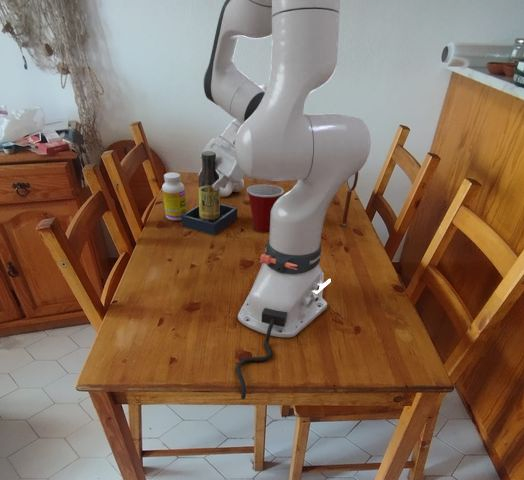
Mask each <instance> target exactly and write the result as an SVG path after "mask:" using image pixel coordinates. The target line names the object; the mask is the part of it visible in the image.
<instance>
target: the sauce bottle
mask: <svg viewBox="0 0 524 480" xmlns="http://www.w3.org/2000/svg"><path fill="white" fill-rule="evenodd" d="M201 152H202V151H201ZM201 152H200V155H201V157H200V158H201V165H202V166H201V168H202V171H201V170H200V171H201V173H200V175H199V176H198V205H199V216H200V220H204V221H208V222H212V223H214V222H216V221H217V220H218V219H219V217H220V204H221V197H220V188H219V189H218V191H216V190H214V189H213V188H212V187H211V185H212V184H213V182H214V181H215V182H216V181H217V180H218V179H219V175H218V173H217V172H216V168H215V159H216V153H215V152H212V151H204V152H202V153H201Z"/></svg>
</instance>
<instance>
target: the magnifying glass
mask: <svg viewBox="0 0 524 480" xmlns="http://www.w3.org/2000/svg"><path fill="white" fill-rule="evenodd" d="M358 179H359V171H358V172H357V173H355V174H354V175H352V176H351V177H350V178H349V179H348V180H347V181H346V182H347V188H348V190H347V192H346V199H345V205H344V211H343V215H342V216H343V217H342V227H345V226H346V224H347V221H348V217H349V211H350V205H351V198H352V192H353V191H354V190H355V189H356V187H357V183H358Z"/></svg>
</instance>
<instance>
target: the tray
mask: <svg viewBox="0 0 524 480" xmlns="http://www.w3.org/2000/svg"><path fill="white" fill-rule="evenodd" d="M181 219H182V220H181V226H182V228H187V229H190V230H193V231H197V232H201V233H205V234H208V235H213V236H216V235H217V234H219V233H220V232H222V230H224V229H225V228H227V227H228V226H229V225H231V224H232V223H233V222H235V221H236V220H237V219H238V207H235V206H230V205H227V204H223V203H220V217H219V219H218V220H217V221H216V222H214V223H212V222H208V221H204V220H200V216H199V204H198V205H196V206H195V207H193V208H191V209H190V210H188V211H187V212H186V213H185V214H183V215H182V216H181Z"/></svg>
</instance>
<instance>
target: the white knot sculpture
mask: <svg viewBox="0 0 524 480" xmlns="http://www.w3.org/2000/svg"><path fill="white" fill-rule="evenodd" d="M216 172H217V173H218V175H219V178H220V176H221V173H219V172H218V171H217V170H216ZM243 178H244V177H243ZM243 178H242V179H241V180H240V181H239V182H237V183H236V184H234V183H233V182H231V181H230V180H229V181H228V182H227V183H226V184H224V185H223V186H221V187H220V198H227V197H229V196H230V195H231V194H232V193H240V192H242V190H243V189H244V187H245V181H244V179H243Z"/></svg>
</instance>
